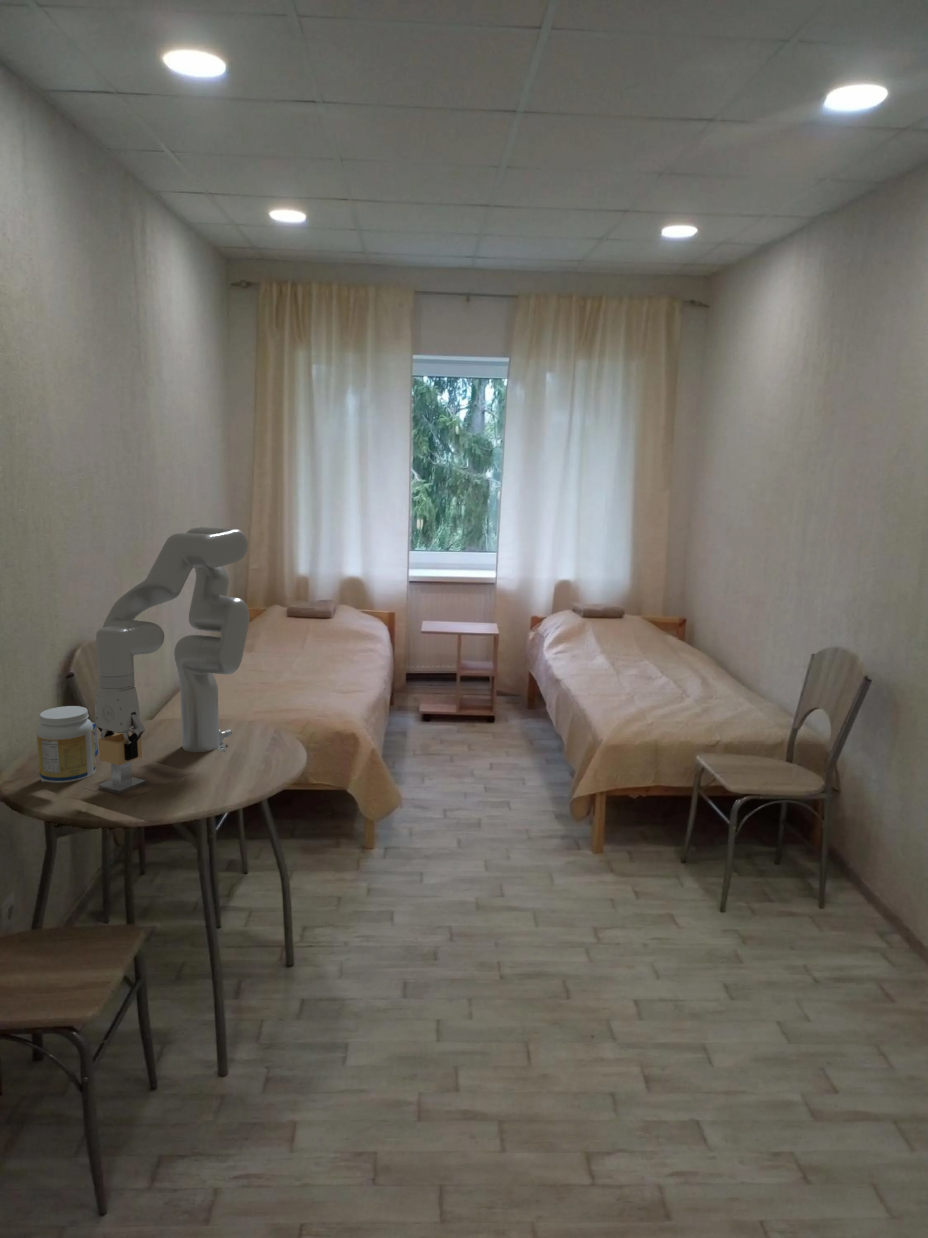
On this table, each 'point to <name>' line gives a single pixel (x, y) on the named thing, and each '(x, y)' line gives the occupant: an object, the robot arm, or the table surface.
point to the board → (146, 779)
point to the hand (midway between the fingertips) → (120, 755)
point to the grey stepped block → (122, 780)
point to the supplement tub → (65, 744)
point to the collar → (115, 749)
